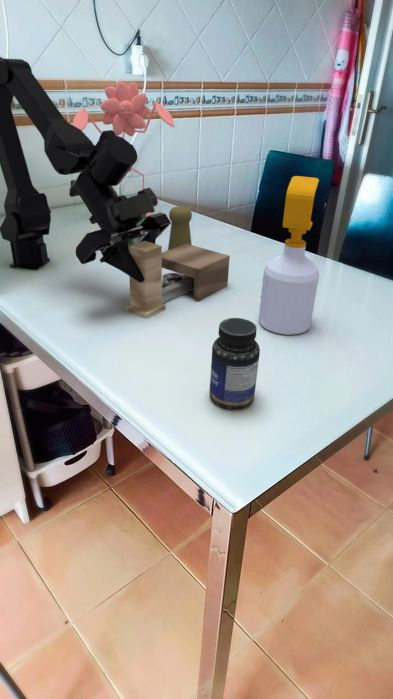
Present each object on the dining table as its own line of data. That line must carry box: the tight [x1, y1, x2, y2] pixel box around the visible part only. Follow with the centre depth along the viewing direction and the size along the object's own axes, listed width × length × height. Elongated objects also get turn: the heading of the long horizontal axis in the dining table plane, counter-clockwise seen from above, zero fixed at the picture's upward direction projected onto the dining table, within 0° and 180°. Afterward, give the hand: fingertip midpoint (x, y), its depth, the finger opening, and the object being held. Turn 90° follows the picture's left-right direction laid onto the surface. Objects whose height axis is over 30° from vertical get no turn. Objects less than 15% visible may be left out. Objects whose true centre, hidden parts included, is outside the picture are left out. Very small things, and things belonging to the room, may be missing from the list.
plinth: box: [162, 244, 231, 302], centre depth 95 cm, size 11×10×6 cm
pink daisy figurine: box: [72, 81, 176, 220], centre depth 124 cm, size 15×26×35 cm, turn 110°
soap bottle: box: [258, 175, 320, 336], centre depth 78 cm, size 9×9×25 cm
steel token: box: [162, 272, 183, 288], centre depth 97 cm, size 4×4×2 cm
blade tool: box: [126, 241, 194, 319], centre depth 88 cm, size 5×18×12 cm, turn 142°
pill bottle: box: [209, 317, 261, 411], centre depth 62 cm, size 6×6×11 cm
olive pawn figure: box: [167, 205, 193, 251], centre depth 111 cm, size 6×6×11 cm
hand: (151, 277), depth 83 cm, fingers closed on blade tool, 4 cm apart
